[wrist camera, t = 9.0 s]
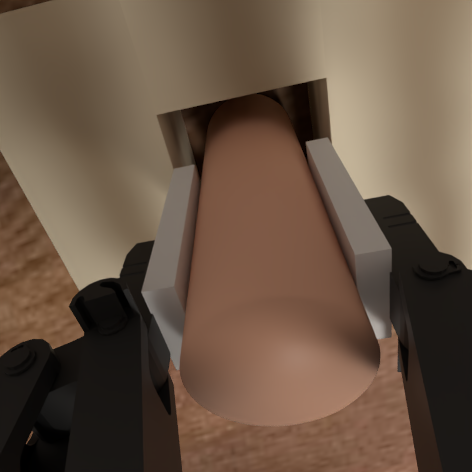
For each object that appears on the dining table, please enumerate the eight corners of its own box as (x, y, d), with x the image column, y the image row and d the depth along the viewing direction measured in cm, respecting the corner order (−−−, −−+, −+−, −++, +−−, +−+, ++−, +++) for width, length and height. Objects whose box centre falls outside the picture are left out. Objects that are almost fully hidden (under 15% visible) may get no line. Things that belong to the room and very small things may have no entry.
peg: (217, 183, 20) (207, 436, 9) (197, 104, 18) (152, 315, 7) (297, 167, 20) (381, 413, 9) (286, 84, 18) (378, 278, 7)
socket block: (124, 271, 25) (104, 334, 20) (5, 14, 17) (-68, 30, 13) (431, 216, 23) (476, 273, 19) (452, -100, 15) (537, -124, 11)
